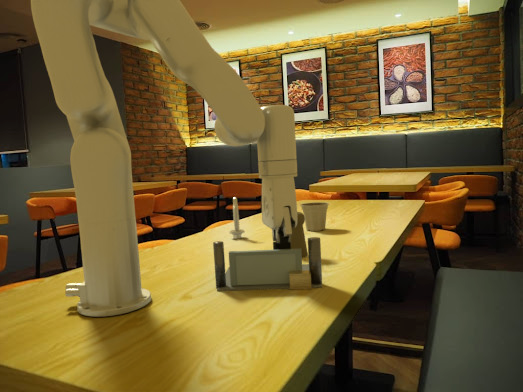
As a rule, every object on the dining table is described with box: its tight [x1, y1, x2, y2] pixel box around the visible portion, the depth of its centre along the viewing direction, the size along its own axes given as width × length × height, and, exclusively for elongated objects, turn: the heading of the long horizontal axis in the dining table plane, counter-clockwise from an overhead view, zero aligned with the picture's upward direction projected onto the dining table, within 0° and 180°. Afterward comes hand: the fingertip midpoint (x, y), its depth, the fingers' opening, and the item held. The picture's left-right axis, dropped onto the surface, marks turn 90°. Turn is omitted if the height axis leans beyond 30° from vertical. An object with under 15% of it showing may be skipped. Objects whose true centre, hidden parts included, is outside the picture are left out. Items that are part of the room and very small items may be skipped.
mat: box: [216, 263, 323, 292], centre depth 88 cm, size 20×16×1 cm
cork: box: [291, 211, 308, 259], centre depth 105 cm, size 6×6×11 cm
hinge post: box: [212, 240, 226, 289], centre depth 83 cm, size 2×2×9 cm
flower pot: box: [300, 201, 330, 232], centre depth 140 cm, size 9×9×9 cm
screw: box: [229, 196, 245, 240], centre depth 132 cm, size 13×5×5 cm
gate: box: [228, 248, 303, 286], centre depth 82 cm, size 14×1×6 cm, turn 86°
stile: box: [289, 236, 323, 291], centre depth 81 cm, size 6×4×9 cm, turn 86°
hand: (282, 261), depth 85 cm, fingers closed
